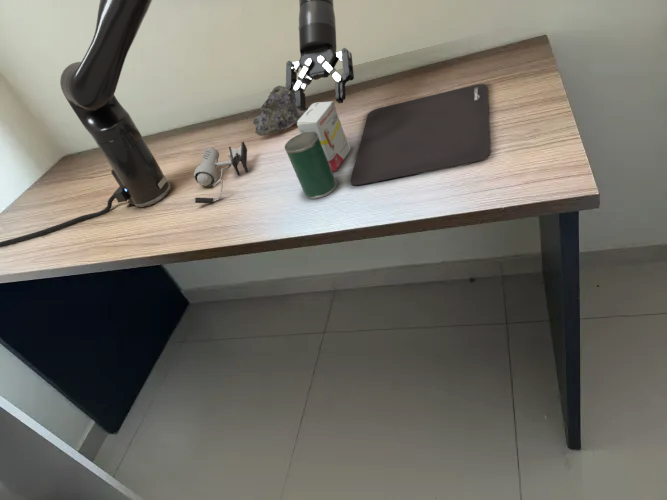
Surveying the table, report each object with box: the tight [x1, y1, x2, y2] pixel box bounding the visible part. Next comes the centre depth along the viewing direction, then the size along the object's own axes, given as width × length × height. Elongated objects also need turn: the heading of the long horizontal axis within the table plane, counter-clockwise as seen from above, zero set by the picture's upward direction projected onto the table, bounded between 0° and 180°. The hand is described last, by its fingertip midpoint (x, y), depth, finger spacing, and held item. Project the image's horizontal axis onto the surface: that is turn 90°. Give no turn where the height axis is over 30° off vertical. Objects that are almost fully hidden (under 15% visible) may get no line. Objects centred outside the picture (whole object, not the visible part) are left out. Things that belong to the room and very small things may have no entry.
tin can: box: [284, 132, 338, 200], centre depth 123 cm, size 7×7×11 cm
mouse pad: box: [349, 83, 491, 186], centre depth 130 cm, size 32×27×1 cm
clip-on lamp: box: [190, 141, 249, 204], centre depth 142 cm, size 12×6×18 cm
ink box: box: [296, 100, 351, 173], centre depth 130 cm, size 9×5×12 cm, turn 156°
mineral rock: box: [252, 85, 309, 137], centre depth 154 cm, size 13×11×10 cm
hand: (320, 106), depth 130 cm, fingers open, 8 cm apart
